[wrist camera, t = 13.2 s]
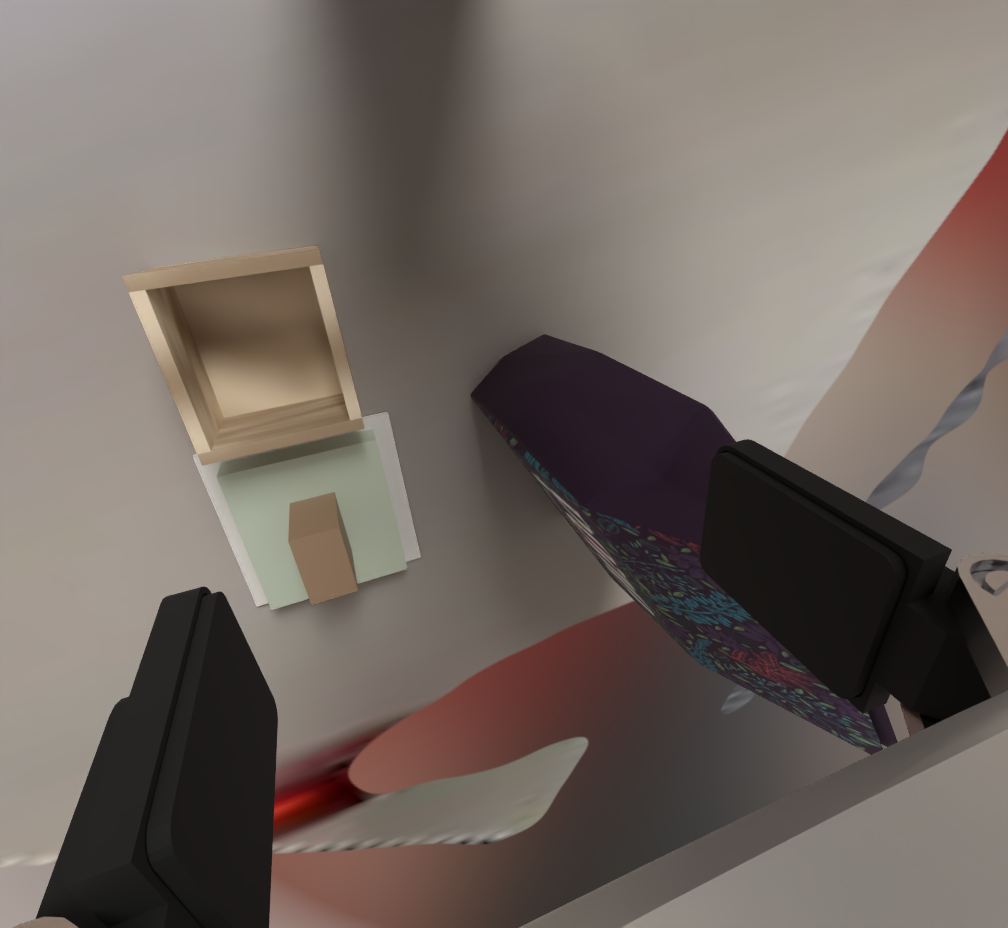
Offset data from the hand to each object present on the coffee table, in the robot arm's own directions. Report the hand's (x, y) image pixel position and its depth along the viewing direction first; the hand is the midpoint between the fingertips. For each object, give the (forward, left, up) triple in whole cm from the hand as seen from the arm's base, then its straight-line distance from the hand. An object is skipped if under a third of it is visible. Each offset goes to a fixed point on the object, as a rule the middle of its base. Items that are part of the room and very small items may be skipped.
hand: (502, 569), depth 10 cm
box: (0, -6, -29) cm, 30 cm away
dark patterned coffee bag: (+12, +14, -29) cm, 34 cm away
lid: (+13, -6, -29) cm, 32 cm away
